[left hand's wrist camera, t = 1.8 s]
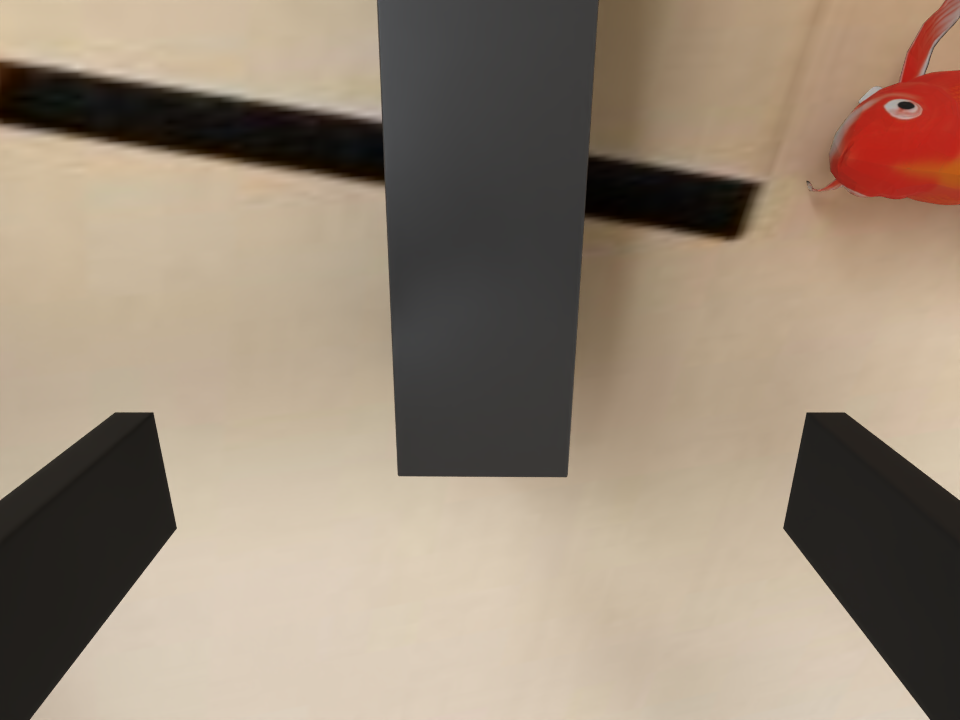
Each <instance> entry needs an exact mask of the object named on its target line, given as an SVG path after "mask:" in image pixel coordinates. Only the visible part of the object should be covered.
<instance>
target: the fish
mask: <svg viewBox="0 0 960 720" xmlns="http://www.w3.org/2000/svg"><path fill="white" fill-rule="evenodd" d="M959 18H960V0H946V1H945V2H944V3H943V4H942V6H941V7H940V8H939V10H937V11H936V12H935V13H934V14H933V15H932V16H931V17H930V18H929V19H928V20H927V21H926V22H925V23H924V24H923V25H922V27H921V29H920V31H919V33H918V34H917V36H916V38H915V40H914V41H913V43H912V45H911V46H910V48H909V50H908V52H907V55H906V59H905V62H904V65H903V69H902V73H901V76H900V80H899V83H897V84H894V85H891V86H889V87H886V88H882V87H878V86H875V87H873V88H871V89H870V90H869V91H868V92H867V93H866V94H865V95H864V96H863V97H862V98H861V99H860V100H859V102H858V103H860V104H859V105H858V106H857V107H856V108H855V109H854V110H853V111H852V112H851V114H850V115H849V116H848V117H847V119H846V120H845V121H844V122H843V124H842V125H841V126H840V128H839V129H838V130H837V132H836V134H835V137H834V140H833V143H832V146H831V149H830V152H829V160H830V170H831V172H832V174H833V175H834V177H835V178H836V179H835V180H834V181H832V182H831V183H830V184H829V185H827V186H826V187H825V188H823V189H814V188H813V187H812V185H811V183H810V182H809V181H807V185H808V188H809V190H810V191H826V190H834V189H837V188H840V187H843V186H844V187H845V188H846V190H847V191H848V192H850V193H851V194H853V195H856V196H858V197H874V196H882V197H886V198H891V199H902V198H906V197H908V198H911V199H913V200H917V201H922V202H928V203H934V204H941V205H957V204H960V70H958V71H941V72H932V73H928V74H925V72H926V69H927V67H928V64H929V60H930V57H931V54H932V51H933V49H934V47H935V46H936V44H937V43H938V42H939V40H940V39H941V38H942V37H943V36H944V35H945V34H946V32H947V31H948V30H949V29H950V28H951V27H952V26H953V25H954V24H955V23H956V22H957V20H958V19H959Z"/></svg>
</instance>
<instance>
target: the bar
mask: <svg viewBox="0 0 960 720" xmlns="http://www.w3.org/2000/svg"><path fill="white" fill-rule="evenodd" d="M598 3H599V0H377V12H378V34H379V57H380V80H381V103H382V126H383V149H384V171H385V194H386V217H387V240H388V263H389V285H390V308H391V331H392V354H393V377H394V399H395V422H396V445H397V468H398V476H458V477H567V475H568V461H569V446H570V431H571V415H572V400H573V385H574V369H575V354H576V339H577V324H578V308H579V293H580V278H581V263H582V247H583V232H584V217H585V201H586V186H587V171H588V156H589V140H590V125H591V110H592V95H593V79H594V64H595V49H596V33H597V18H598Z"/></svg>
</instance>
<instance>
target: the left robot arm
mask: <svg viewBox="0 0 960 720" xmlns="http://www.w3.org/2000/svg"><path fill="white" fill-rule="evenodd" d="M176 529H177V527H176V522H175V517H174V512H173V507H172V503H171V498H170V493H169V488H168V483H167V478H166V473H165V468H164V463H163V458H162V453H161V448H160V443H159V438H158V433H157V428H156V423H155V418H154V414H153V413H114V414H113V415H111V416H110V417H109V418H107V419H106V420H105V421H103V422H102V423H101V424H100V425H98V426H97V427H96V428H94V429H93V430H92V431H90V432H89V433H88V434H86V435H85V436H84V437H83V438H81V439H80V440H79V441H77V442H76V443H75V444H73V445H72V446H71V447H69V448H68V449H67V450H66V451H64V452H63V453H62V454H60V455H59V456H58V457H56V458H55V459H54V460H52V461H51V462H50V463H49V464H47V465H46V466H45V467H43V468H42V469H41V470H39V471H38V472H37V473H35V474H34V475H33V476H32V477H30V478H29V479H28V480H26V481H25V482H24V483H22V484H21V485H20V486H18V487H17V488H16V489H15V490H13V491H12V492H11V493H9V494H8V495H7V496H5V497H4V498H3V499H1V500H0V720H30V719H31V717H32V716H33V715H34V713H35V712H36V711H37V710H38V708H39V707H40V706H41V704H42V703H43V702H44V700H45V699H46V698H47V697H48V695H49V694H50V693H51V691H52V690H53V689H54V687H55V686H56V685H57V684H58V682H59V681H60V680H61V678H62V677H63V676H64V674H65V673H66V672H67V671H68V669H69V668H70V667H71V665H72V664H73V663H74V661H75V660H76V659H77V658H78V656H79V655H80V654H81V652H82V651H83V650H84V648H85V647H86V646H87V644H88V643H89V642H90V641H91V639H92V638H93V637H94V635H95V634H96V633H97V631H98V630H99V629H100V628H101V626H102V625H103V624H104V622H105V621H106V620H107V618H108V617H109V616H110V615H111V613H112V612H113V611H114V609H115V608H116V607H117V605H118V604H119V603H120V602H121V600H122V599H123V598H124V596H125V595H126V594H127V592H128V591H129V590H130V589H131V587H132V586H133V585H134V583H135V582H136V581H137V579H138V578H139V577H140V575H141V574H142V573H143V572H144V570H145V569H146V568H147V566H148V565H149V564H150V562H151V561H152V560H153V559H154V557H155V556H156V555H157V553H158V552H159V551H160V549H161V548H162V547H163V546H164V544H165V543H166V542H167V540H168V539H169V538H170V536H171V535H172V534H173V533H174V531H175V530H176ZM783 529H784V530H785V531H786V533H787V534H788V535H789V536H790V538H791V539H792V540H793V542H794V543H795V544H796V546H797V547H798V548H799V549H800V551H801V552H802V553H803V555H804V556H805V557H806V559H807V560H808V561H809V562H810V564H811V565H812V566H813V568H814V569H815V570H816V572H817V573H818V574H819V575H820V577H821V578H822V579H823V581H824V582H825V583H826V585H827V586H828V587H829V589H830V590H831V591H832V592H833V594H834V595H835V596H836V598H837V599H838V600H839V602H840V603H841V604H842V605H843V607H844V608H845V609H846V611H847V612H848V613H849V615H850V616H851V617H852V618H853V620H854V621H855V622H856V624H857V625H858V626H859V628H860V629H861V630H862V631H863V633H864V634H865V635H866V637H867V638H868V639H869V641H870V642H871V643H872V644H873V646H874V647H875V648H876V650H877V651H878V652H879V654H880V655H881V656H882V658H883V659H884V660H885V661H886V663H887V664H888V665H889V667H890V668H891V669H892V671H893V672H894V673H895V674H896V676H897V677H898V678H899V680H900V681H901V682H902V684H903V685H904V686H905V687H906V689H907V690H908V691H909V693H910V694H911V695H912V697H913V698H914V699H915V700H916V702H917V703H918V704H919V706H920V707H921V708H922V710H923V711H924V712H925V713H926V715H927V716H928V717H929V719H930V720H960V500H959V499H957V498H956V497H955V496H953V495H952V494H951V493H949V492H948V491H947V490H945V489H944V488H943V487H942V486H940V485H939V484H938V483H936V482H935V481H934V480H932V479H931V478H930V477H928V476H927V475H926V474H925V473H923V472H922V471H921V470H919V469H918V468H917V467H915V466H914V465H913V464H911V463H910V462H909V461H908V460H906V459H905V458H904V457H902V456H901V455H900V454H898V453H897V452H896V451H894V450H893V449H892V448H891V447H889V446H888V445H887V444H885V443H884V442H883V441H881V440H880V439H879V438H877V437H876V436H875V435H874V434H872V433H871V432H870V431H868V430H867V429H866V428H864V427H863V426H862V425H860V424H859V423H858V422H857V421H855V420H854V419H853V418H851V417H850V416H849V415H847V414H846V413H807V414H806V418H805V423H804V428H803V433H802V438H801V443H800V448H799V453H798V458H797V463H796V468H795V473H794V478H793V483H792V488H791V493H790V498H789V503H788V507H787V512H786V517H785V522H784V527H783Z"/></svg>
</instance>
